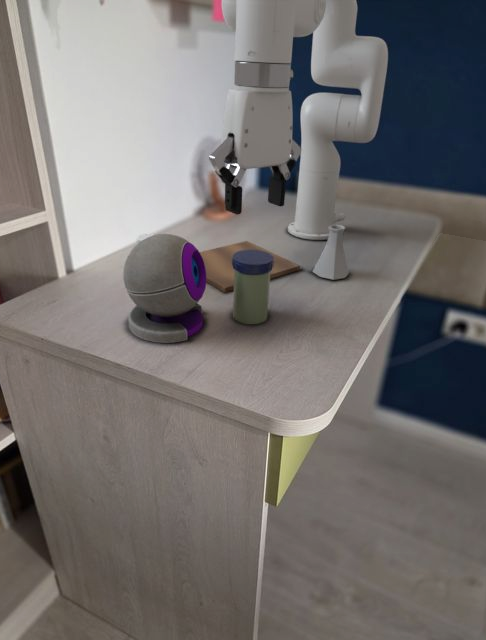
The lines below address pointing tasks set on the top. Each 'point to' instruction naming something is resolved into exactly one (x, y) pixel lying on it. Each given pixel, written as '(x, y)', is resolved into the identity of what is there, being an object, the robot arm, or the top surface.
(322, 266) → the flask
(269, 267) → the lid
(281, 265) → the mat
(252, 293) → the jar
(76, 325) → the top surface
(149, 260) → the webcam
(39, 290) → the top surface
